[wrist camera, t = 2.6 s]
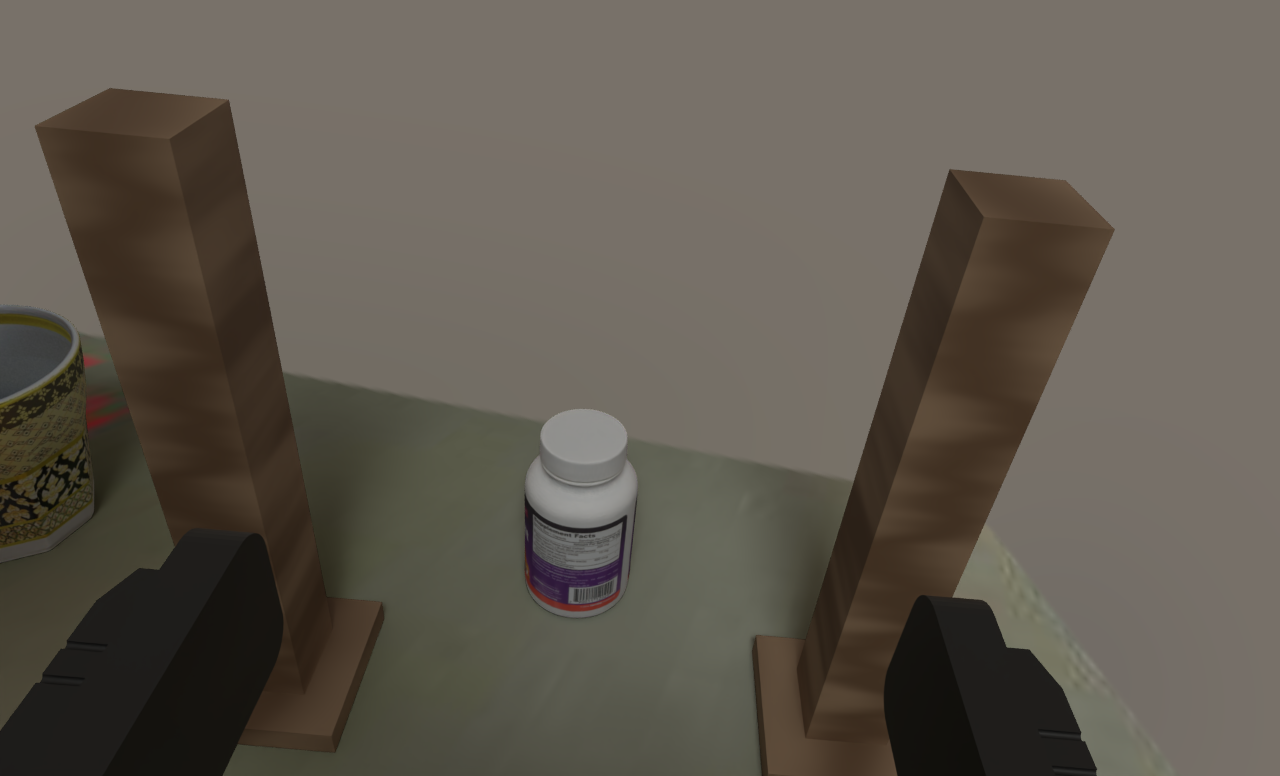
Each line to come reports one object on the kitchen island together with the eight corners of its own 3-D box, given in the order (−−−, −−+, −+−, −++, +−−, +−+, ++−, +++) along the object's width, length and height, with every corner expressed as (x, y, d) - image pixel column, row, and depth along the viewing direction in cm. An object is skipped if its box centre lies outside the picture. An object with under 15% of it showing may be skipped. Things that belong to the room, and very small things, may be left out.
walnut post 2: (763, 789, 35) (934, 239, 21) (752, 651, 41) (880, 144, 26) (928, 803, 35) (1214, 265, 21) (894, 663, 41) (1099, 165, 27)
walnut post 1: (166, 738, 35) (-84, 141, 20) (239, 605, 41) (84, 67, 26) (335, 752, 35) (205, 169, 20) (384, 618, 41) (309, 88, 26)
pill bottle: (552, 530, 46) (557, 387, 41) (643, 562, 45) (660, 418, 39) (504, 599, 42) (502, 450, 37) (602, 637, 41) (615, 488, 35)
